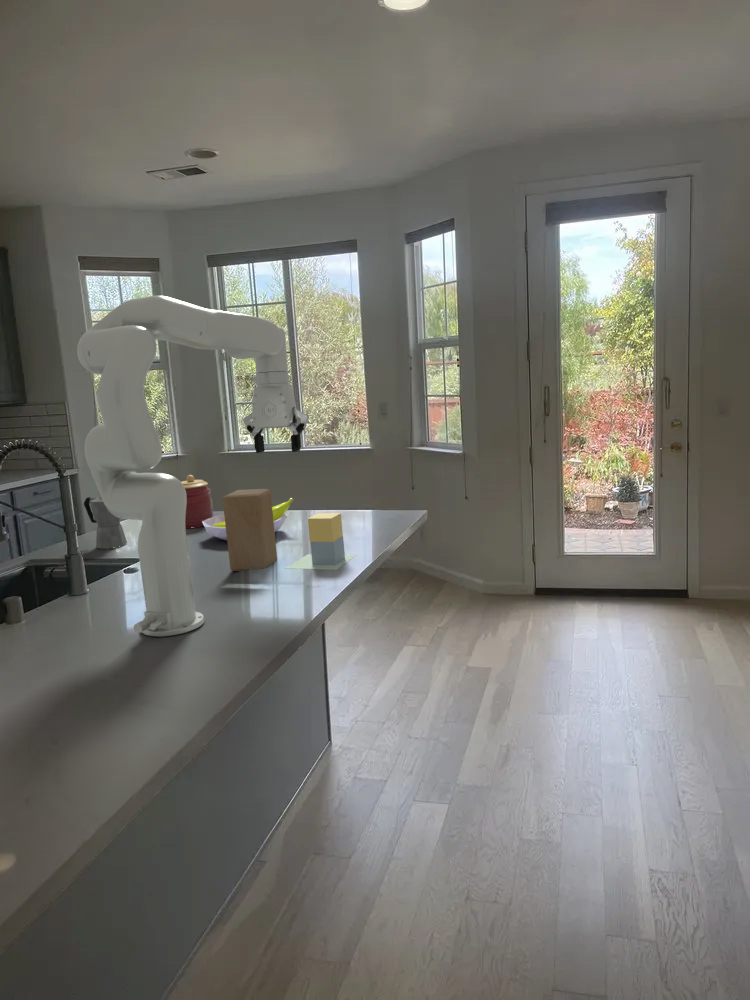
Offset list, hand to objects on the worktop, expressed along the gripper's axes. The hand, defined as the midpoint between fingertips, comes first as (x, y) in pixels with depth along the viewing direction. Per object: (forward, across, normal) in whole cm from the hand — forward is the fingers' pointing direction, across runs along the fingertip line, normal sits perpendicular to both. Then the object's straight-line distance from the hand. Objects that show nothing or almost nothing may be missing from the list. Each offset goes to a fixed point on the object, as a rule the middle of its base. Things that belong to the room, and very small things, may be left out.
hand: (278, 451), depth 178 cm
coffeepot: (+31, -76, +26) cm, 86 cm away
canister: (+29, -64, +56) cm, 90 cm away
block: (+31, -13, +7) cm, 34 cm away
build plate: (+30, +5, +10) cm, 32 cm away
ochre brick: (+23, +7, +10) cm, 26 cm away
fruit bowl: (+30, -33, +40) cm, 60 cm away
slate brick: (+29, +7, +10) cm, 32 cm away
